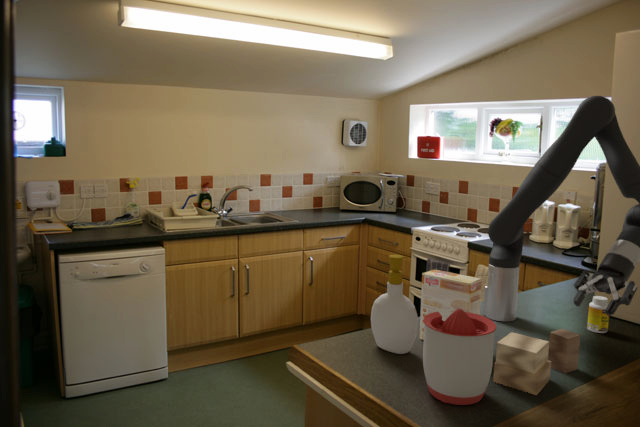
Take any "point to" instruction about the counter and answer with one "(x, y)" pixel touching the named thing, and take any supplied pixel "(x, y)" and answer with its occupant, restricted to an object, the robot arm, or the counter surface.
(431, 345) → the citrus juicer
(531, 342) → the block top
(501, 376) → the block bottom
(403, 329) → the soap bottle
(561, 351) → the walnut post
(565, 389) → the counter surface
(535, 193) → the robot arm
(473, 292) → the coffeecake box
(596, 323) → the supplement bottle
